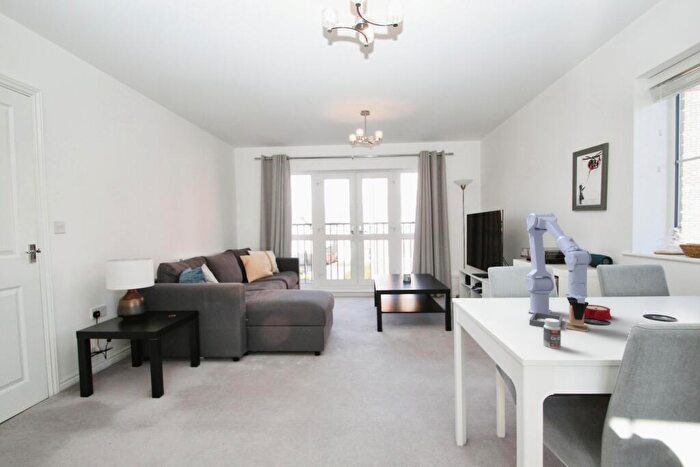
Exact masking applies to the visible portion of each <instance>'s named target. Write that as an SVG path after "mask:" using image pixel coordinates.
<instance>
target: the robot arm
mask: <svg viewBox="0 0 700 467" xmlns="http://www.w3.org/2000/svg"><path fill="white" fill-rule="evenodd" d="M526 232H527V233H528V240H529V241H528V242H529V243H528V244H529V250H530V263H531V264H530V265H531V271H530V272H528V273H527V274H526V281H525V287H526V289H527V291H528V292H530V293H529V294H530V296H529V297H530V299H529V300H530V302H529V303H530V304H529V310H528V312H527V313H529V314H533V313H534V312H537V313H544V314H551V312H552V310H551V309H550V294H551V293H552V291H553V290H554V287H555V283H554V280H553V277H552V276H553V275H552V274H551V273H550V272H549V271H547V268H546V259H545V258H546V257H545V251H544V250H545V249H544V240H543V236H544V234H545V233H548V232H549V233H550V235H551V236H552V237H553V238H554V239H555V240H556V246H557V247H558V248H559V250H560V251H561V252H562V254H563V255H564V256H565V257H564V262H565V264H566V269H567V270H568V272H567V273H568V274H567V275H568V278H567V279H568V283H567V284H568V285H567V287H568V288H567V290H568V291H567V292H564V296H567V297H566V299H567V301H568V303H569V305H572V308H573V312H574V318H575V320H582V318H583V315H584V311H585V309H586V307H587V306H588V305H590V304H589V303H590V302H588V301H586V299H587V298H588V293H587V292H588V289H587V288H588V287H587V286H588V283H587V282H588V266H589V265H590V264H591V262H592V256H591V253H590V252H589V251H588V250H586V249H583V248H581V247H580V246H579V245H578V244H577V242H576V241H575V240H574V238H573V237H572V236H568V235H566V234H565V233H564V231H563V230H562V229H561V227H560V225H559V224H558V217H557V216H556V215H555V214H554V213H553V212H549V213H545V212H544V213H543V212H542V213H537V212H531V213H530V214H528V216H527V218H526Z"/></svg>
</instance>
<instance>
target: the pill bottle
mask: <svg viewBox="0 0 700 467" xmlns="http://www.w3.org/2000/svg"><path fill="white" fill-rule="evenodd" d="M544 322H545V325H544V327H543V337H542V339H543V340H542V341H543V343H542V344H543V346H545V347H547V348H551V349H560V348H561V344H562V343H561V341H562V340H561V339H562V338H561V337H562V336H561V334H562V332H561V331H562V327H561V328H560V327H559V325H560V321H559V320H556V319H551V318H547V319H544Z"/></svg>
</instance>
